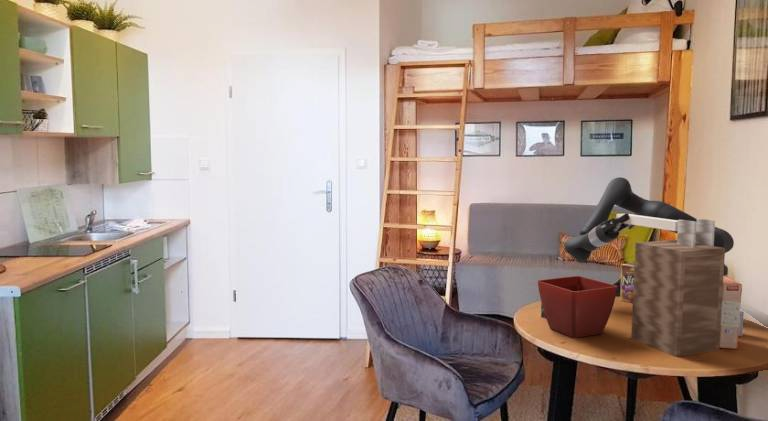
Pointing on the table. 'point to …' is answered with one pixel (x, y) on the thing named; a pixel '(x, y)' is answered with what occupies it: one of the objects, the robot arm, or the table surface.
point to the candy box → (627, 283)
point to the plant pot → (577, 304)
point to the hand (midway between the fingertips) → (633, 215)
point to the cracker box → (730, 313)
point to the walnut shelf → (679, 291)
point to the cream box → (651, 222)
